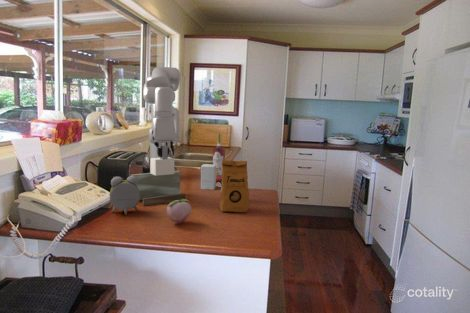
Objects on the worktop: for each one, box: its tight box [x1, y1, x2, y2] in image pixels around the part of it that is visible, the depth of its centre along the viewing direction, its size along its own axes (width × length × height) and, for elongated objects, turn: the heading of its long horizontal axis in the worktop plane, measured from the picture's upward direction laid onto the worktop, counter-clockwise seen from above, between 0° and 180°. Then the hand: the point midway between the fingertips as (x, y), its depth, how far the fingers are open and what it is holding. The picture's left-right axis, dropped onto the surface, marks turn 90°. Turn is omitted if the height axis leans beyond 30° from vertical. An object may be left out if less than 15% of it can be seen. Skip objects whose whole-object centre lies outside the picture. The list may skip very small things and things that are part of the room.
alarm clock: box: [109, 175, 140, 216], centre depth 140 cm, size 12×7×15 cm, turn 111°
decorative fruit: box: [166, 198, 192, 224], centre depth 130 cm, size 9×8×10 cm
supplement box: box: [200, 163, 217, 191], centre depth 187 cm, size 7×7×13 cm
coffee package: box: [219, 159, 250, 213], centre depth 148 cm, size 10×12×22 cm
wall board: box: [130, 170, 186, 207], centre depth 161 cm, size 11×24×12 cm, turn 125°
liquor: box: [212, 133, 226, 183], centre depth 204 cm, size 7×7×28 cm
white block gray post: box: [149, 144, 175, 176], centre depth 157 cm, size 6×9×13 cm, turn 125°
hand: (163, 156), depth 156 cm, fingers closed on white block gray post, 2 cm apart
